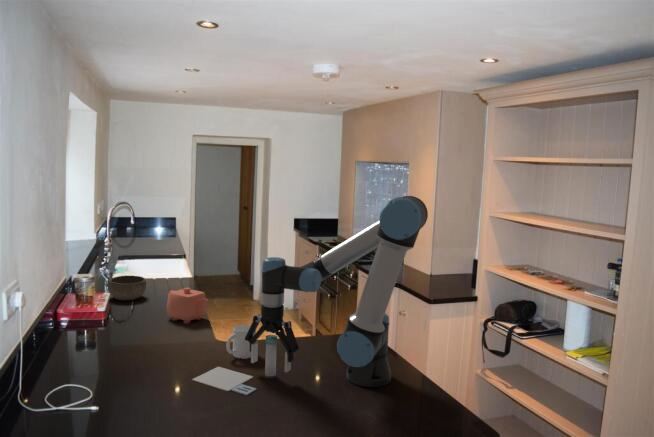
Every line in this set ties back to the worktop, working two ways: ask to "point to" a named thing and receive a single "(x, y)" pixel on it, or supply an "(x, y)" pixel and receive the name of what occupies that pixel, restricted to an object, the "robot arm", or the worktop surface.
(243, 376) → the paper
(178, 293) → the teapot
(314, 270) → the robot arm
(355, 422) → the worktop surface
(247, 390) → the word card
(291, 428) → the worktop surface
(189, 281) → the worktop surface
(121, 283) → the bowl
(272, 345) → the marker
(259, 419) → the worktop surface
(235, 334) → the mug
